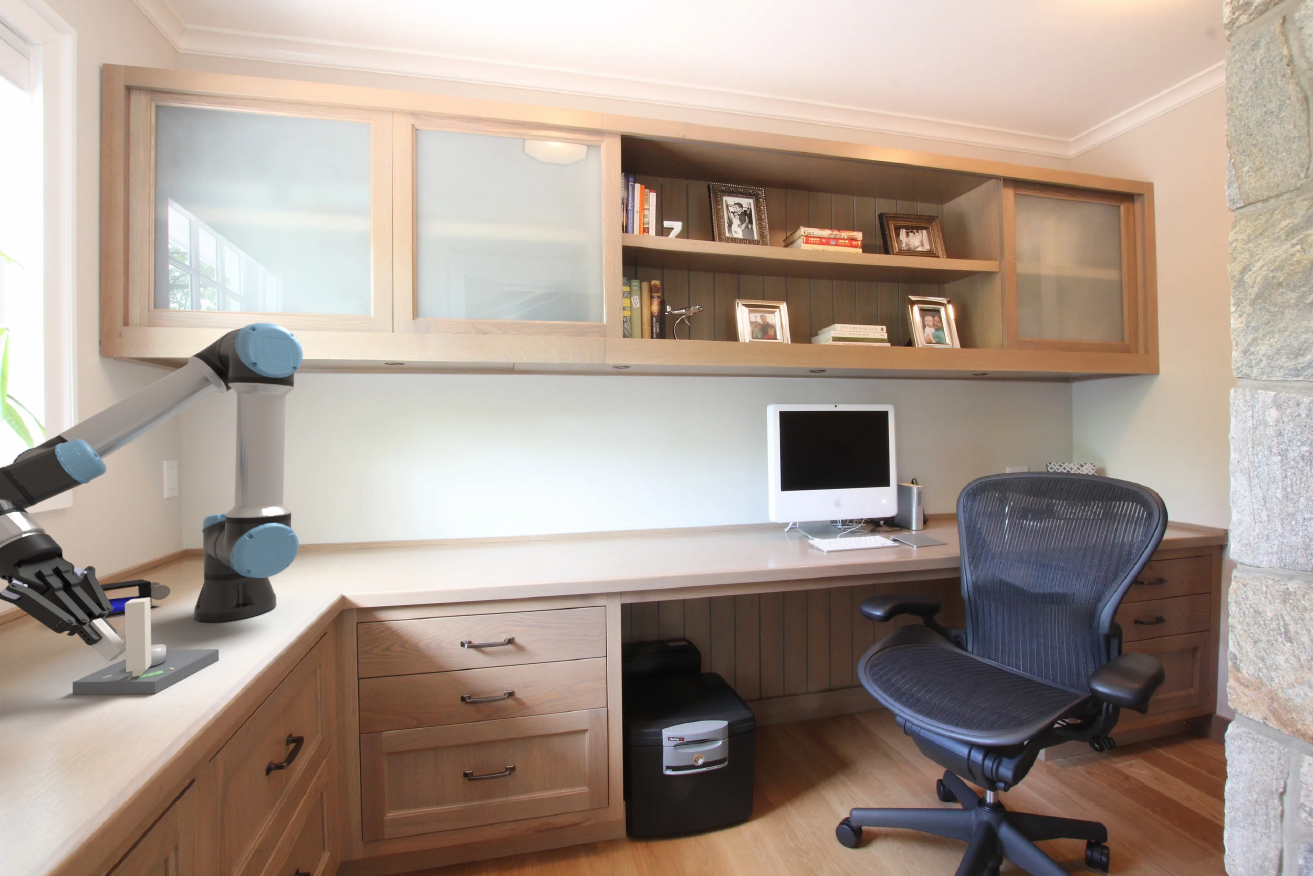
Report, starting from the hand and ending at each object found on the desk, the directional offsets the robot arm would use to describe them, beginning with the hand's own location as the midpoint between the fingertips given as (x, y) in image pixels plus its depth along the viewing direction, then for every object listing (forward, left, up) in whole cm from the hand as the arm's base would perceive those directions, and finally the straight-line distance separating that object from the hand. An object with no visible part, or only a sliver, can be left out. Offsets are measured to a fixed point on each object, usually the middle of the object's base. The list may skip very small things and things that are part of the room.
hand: (118, 654), depth 90 cm
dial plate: (-6, 0, -6) cm, 8 cm away
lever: (-4, +1, -4) cm, 5 cm away
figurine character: (-40, -36, -6) cm, 54 cm away
